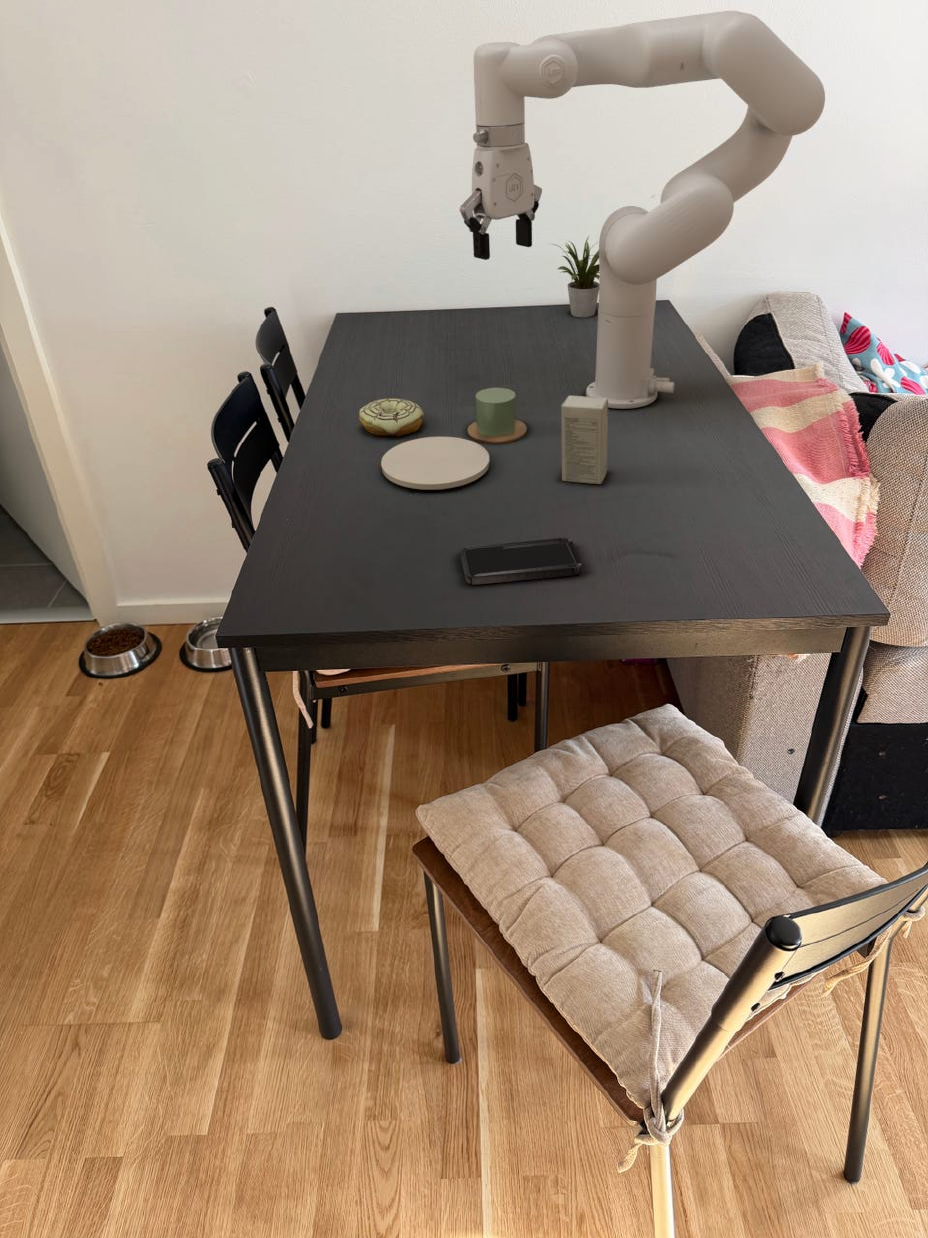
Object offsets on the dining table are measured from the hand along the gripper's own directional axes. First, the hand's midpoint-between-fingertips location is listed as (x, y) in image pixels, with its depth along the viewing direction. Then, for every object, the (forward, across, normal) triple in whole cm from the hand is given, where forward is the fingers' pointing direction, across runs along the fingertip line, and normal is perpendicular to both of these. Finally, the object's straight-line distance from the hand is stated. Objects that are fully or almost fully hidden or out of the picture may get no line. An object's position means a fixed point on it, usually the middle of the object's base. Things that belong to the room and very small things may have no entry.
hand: (503, 251), depth 156 cm
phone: (+26, -38, -41) cm, 62 cm away
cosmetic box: (+26, -13, -30) cm, 42 cm away
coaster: (+26, -10, -8) cm, 29 cm away
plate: (+26, -27, -11) cm, 39 cm away
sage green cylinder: (+25, -10, -8) cm, 29 cm away
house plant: (+26, +45, +24) cm, 57 cm away
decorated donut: (+26, -21, +6) cm, 34 cm away
